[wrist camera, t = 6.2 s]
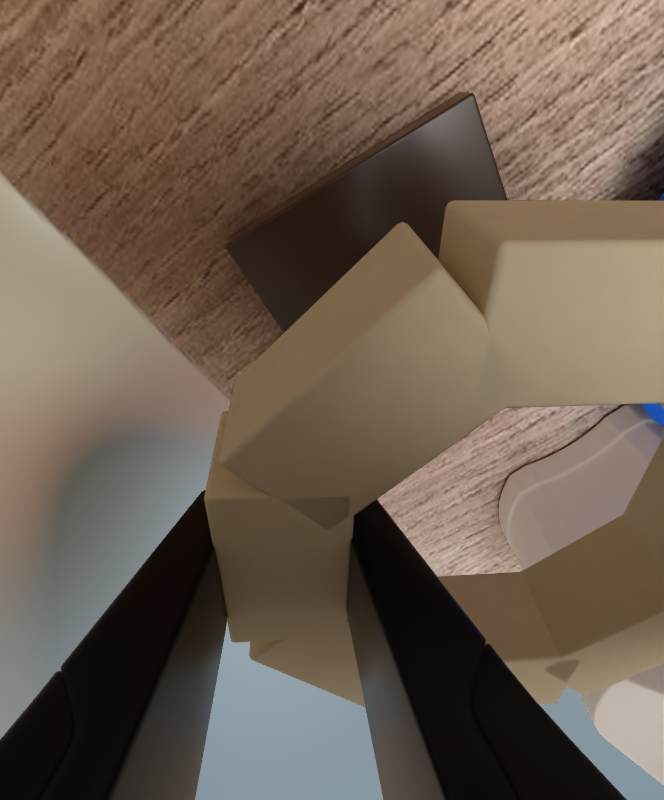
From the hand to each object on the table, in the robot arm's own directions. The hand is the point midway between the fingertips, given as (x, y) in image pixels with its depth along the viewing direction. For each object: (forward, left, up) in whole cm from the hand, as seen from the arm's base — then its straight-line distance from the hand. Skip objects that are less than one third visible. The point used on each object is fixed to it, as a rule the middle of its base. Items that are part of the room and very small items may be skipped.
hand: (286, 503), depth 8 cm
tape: (+2, +3, -1) cm, 4 cm away
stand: (+2, +4, -12) cm, 12 cm away
